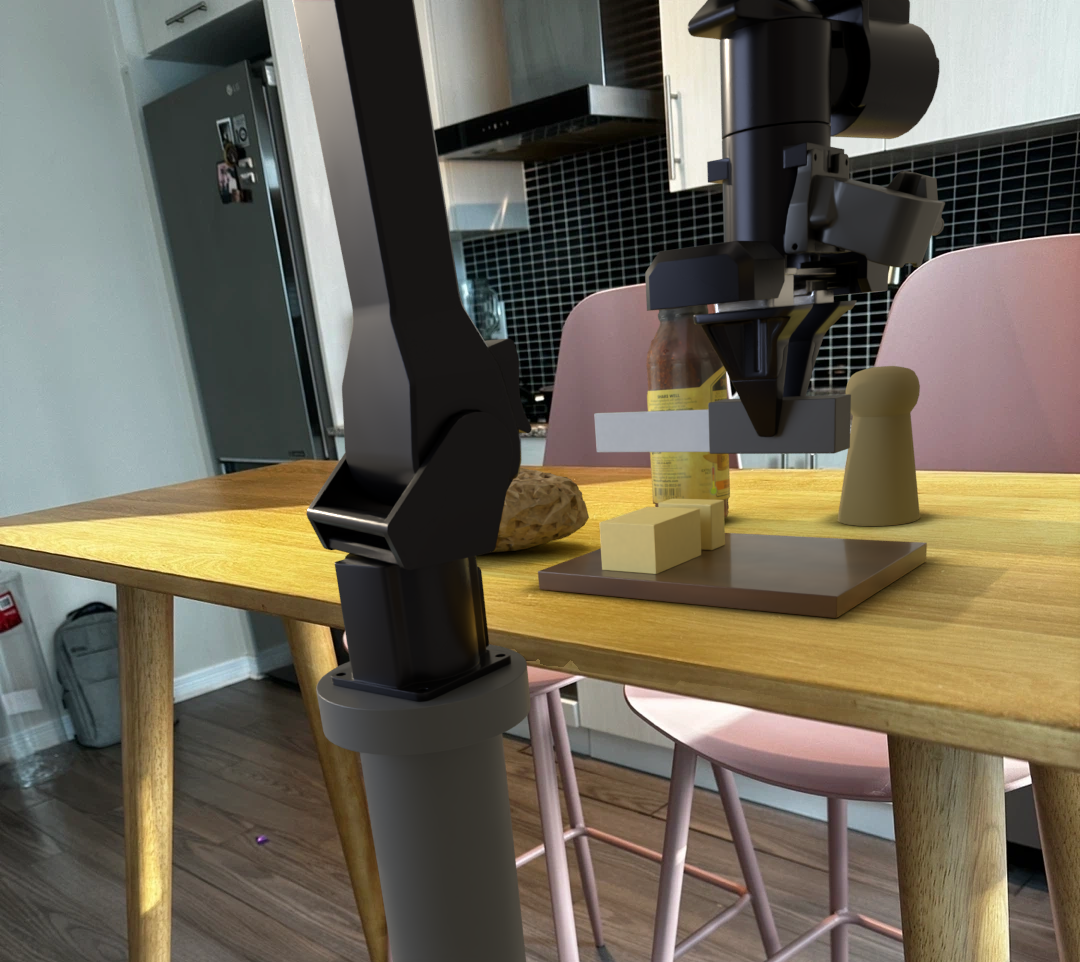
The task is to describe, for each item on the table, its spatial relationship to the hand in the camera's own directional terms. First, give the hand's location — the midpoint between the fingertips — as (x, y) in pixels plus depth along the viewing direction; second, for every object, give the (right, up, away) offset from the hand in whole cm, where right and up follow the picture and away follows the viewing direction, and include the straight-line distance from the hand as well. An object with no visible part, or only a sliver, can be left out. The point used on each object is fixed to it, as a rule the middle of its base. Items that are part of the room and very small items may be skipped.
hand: (777, 433), depth 61 cm
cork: (+12, -2, +18) cm, 22 cm away
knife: (-3, 0, +3) cm, 5 cm away
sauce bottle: (-2, -1, +23) cm, 24 cm away
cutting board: (-2, -8, +5) cm, 9 cm away
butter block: (-7, -7, +5) cm, 11 cm away
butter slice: (-4, -5, +8) cm, 11 cm away
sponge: (-20, -4, +20) cm, 29 cm away
